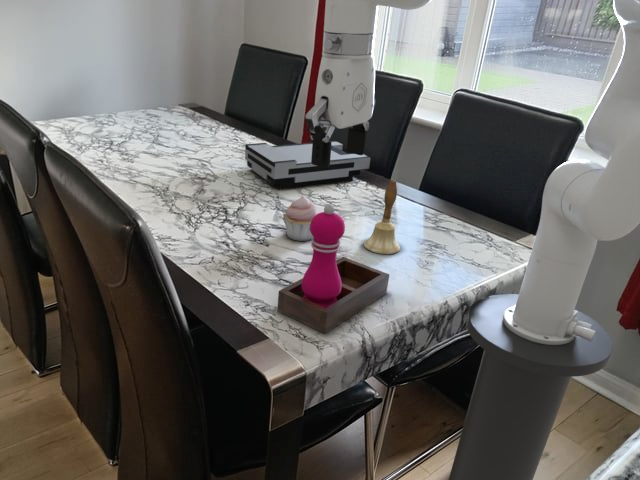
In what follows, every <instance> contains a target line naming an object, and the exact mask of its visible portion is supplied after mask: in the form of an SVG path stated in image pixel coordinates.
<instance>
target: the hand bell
mask: <svg viewBox="0 0 640 480" xmlns="http://www.w3.org/2000/svg"><path fill="white" fill-rule="evenodd" d="M397 196H398V187H397V180H395V179H390V180H389V183H388V184H387V186H386V188H385V191H384V199H383V201H384V211H383V215H382V219H381V221H378V222H376V223H375V225H374V228H373V231H372V233H371V235H370V237H369V238H367V239H365V241H364V243H363V246H364V248H365V249H367V250H368V251H370V252H373V253H376V254H382V255H392V254H393V255H394V254H396V253H398V252H399V251H400V250H401V246H400V244H399V243H398V242H397V240H396V226H395V225H394V224H393V223H392V222H391V216H392V210H393V206H394V204H395V203H396V200H397Z"/></svg>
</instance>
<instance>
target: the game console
mask: <svg viewBox="0 0 640 480" xmlns="http://www.w3.org/2000/svg"><path fill="white" fill-rule="evenodd" d="M329 142H332V145H331V157H330V166H329V167H327V168H324V167H320V166H317V165H313V164H312V163H311V159H312V144H313V141H312V142H303V143H292V144H291V143H290V144H289V143H288V144H280V145H279V144H278V145H270V144H269V143H267V142H258V143H247V144H246V143H245V146H244V160H246V166H247V167H248V168H250V169H251V170H252V172H253V173H255V174H257V175H258V176H259V177H261V178H263V179H264V180H267V181H268V182H270V184H271V185H272V186H273V187H275V188H277V190H279V191H283V190H290V189H297V188H298V189H300V188H306V187H307V188H308V187H314V186H322V185H332V184H338V183H340V184H341V183H347V182H353V181H354V180H353V179H354V176H359V175H361V170H369V169H370V165H371V157H370V156H368V155H367V154H365V153H364V154H363V155H357V154H353V153H348V152H347V151H343V146H344V144H343V143H340V142H338V141H337V140H329Z"/></svg>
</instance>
